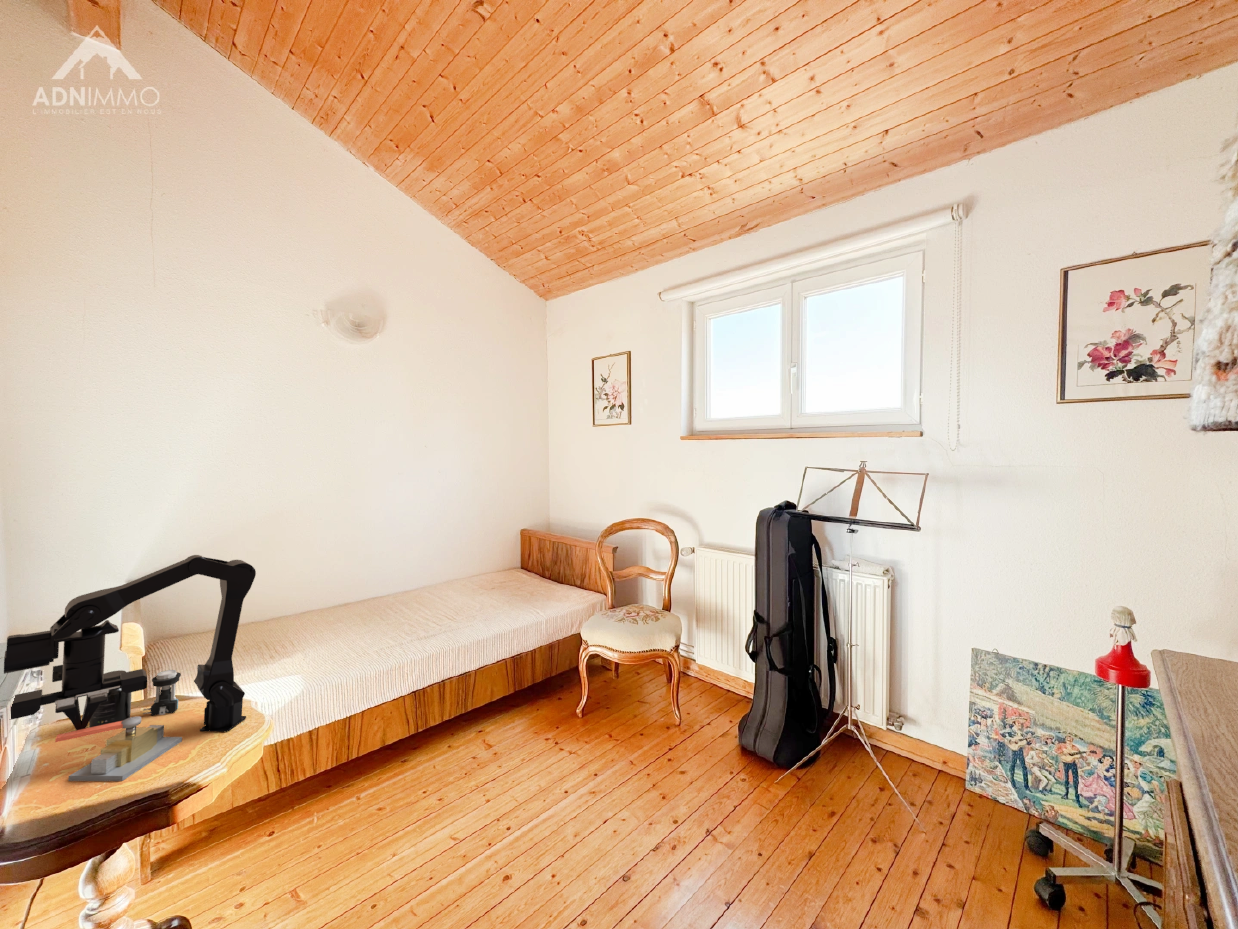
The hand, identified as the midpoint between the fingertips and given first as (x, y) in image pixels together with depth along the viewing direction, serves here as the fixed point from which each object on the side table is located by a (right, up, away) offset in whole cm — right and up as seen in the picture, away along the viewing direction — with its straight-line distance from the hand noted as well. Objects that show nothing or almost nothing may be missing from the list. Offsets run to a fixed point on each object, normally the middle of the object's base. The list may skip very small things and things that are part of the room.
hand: (80, 733), depth 99 cm
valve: (+7, -7, +3) cm, 11 cm away
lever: (+4, 0, 0) cm, 4 cm away
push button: (-4, -8, +22) cm, 24 cm away
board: (+7, -7, +3) cm, 11 cm away
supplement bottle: (-11, -7, +16) cm, 21 cm away
